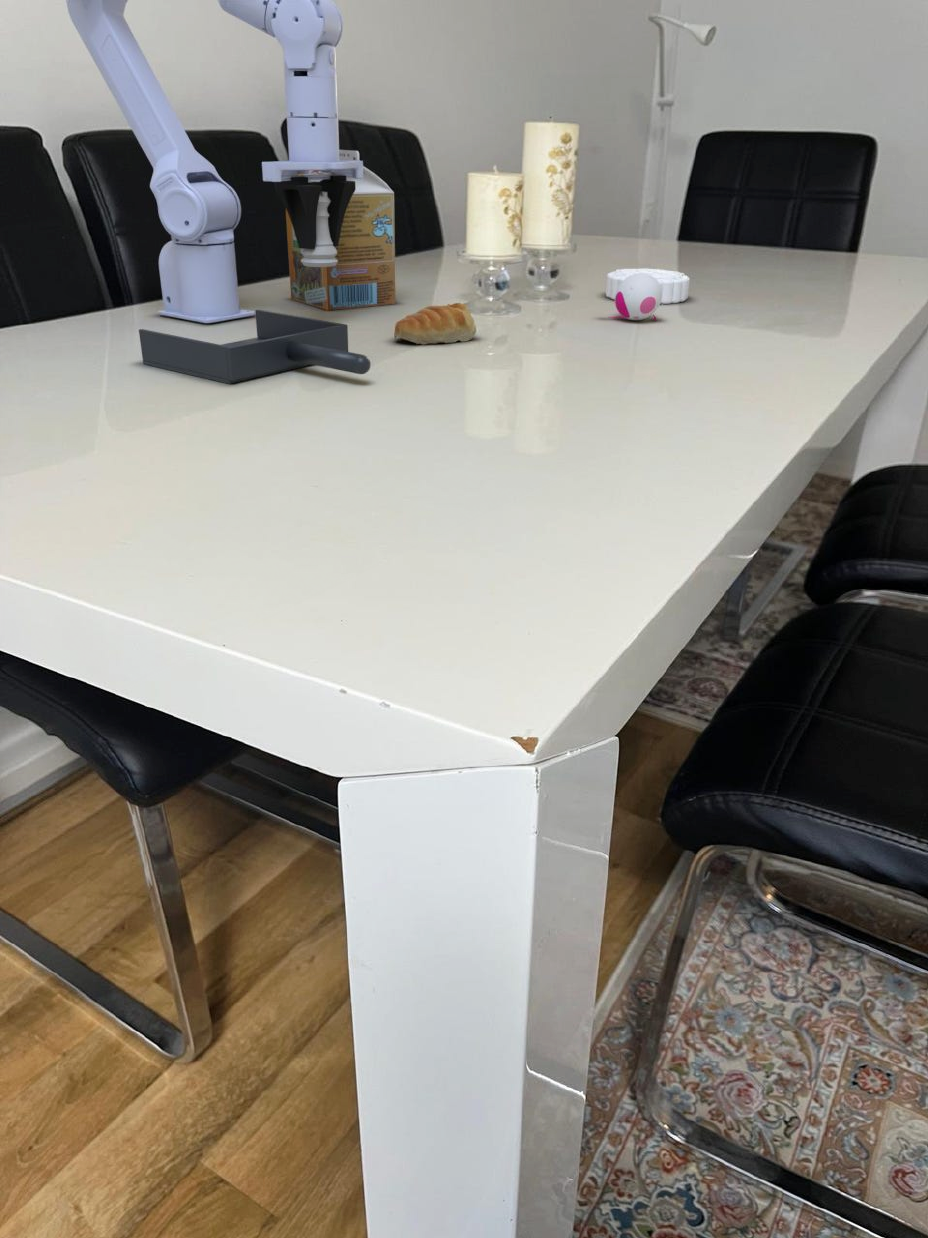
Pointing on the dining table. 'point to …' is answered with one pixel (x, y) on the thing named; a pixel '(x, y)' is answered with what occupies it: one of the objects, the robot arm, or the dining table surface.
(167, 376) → the dining table surface
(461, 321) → the pastry
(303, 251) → the rook chess piece
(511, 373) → the dining table surface
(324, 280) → the milk carton
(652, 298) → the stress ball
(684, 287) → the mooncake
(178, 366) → the scoop
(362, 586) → the dining table surface
